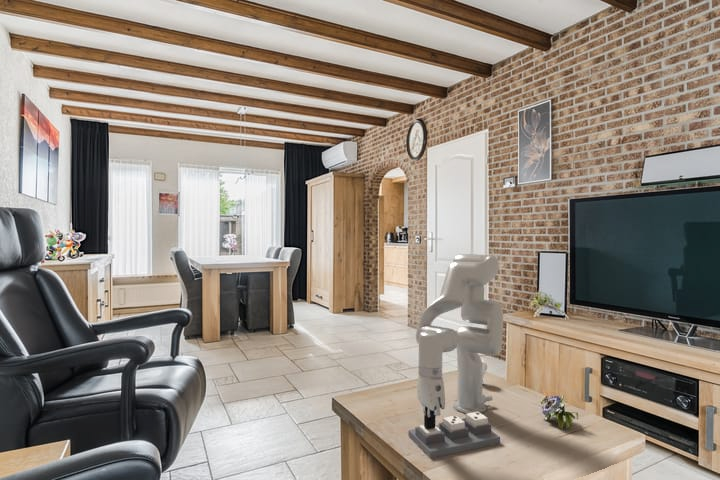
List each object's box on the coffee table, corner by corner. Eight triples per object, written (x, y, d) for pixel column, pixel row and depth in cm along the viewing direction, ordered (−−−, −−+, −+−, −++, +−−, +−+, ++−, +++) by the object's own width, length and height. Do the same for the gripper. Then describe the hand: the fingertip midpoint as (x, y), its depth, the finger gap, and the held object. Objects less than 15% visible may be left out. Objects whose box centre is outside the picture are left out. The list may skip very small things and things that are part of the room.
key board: (473, 423, 141) (473, 411, 141) (500, 443, 128) (500, 429, 128) (408, 436, 132) (408, 422, 132) (430, 458, 119) (430, 443, 119)
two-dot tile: (478, 420, 136) (478, 411, 136) (487, 426, 131) (487, 417, 131) (465, 422, 134) (465, 413, 134) (474, 429, 130) (475, 419, 130)
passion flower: (546, 434, 144) (535, 400, 151) (577, 431, 143) (564, 396, 150) (552, 429, 135) (540, 393, 142) (585, 425, 134) (571, 389, 141)
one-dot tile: (432, 432, 130) (432, 422, 130) (440, 439, 125) (440, 429, 125) (419, 434, 128) (419, 425, 128) (426, 442, 123) (427, 432, 123)
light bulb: (469, 380, 183) (470, 357, 183) (483, 380, 184) (483, 357, 184) (475, 386, 177) (475, 361, 177) (489, 386, 177) (489, 361, 177)
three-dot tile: (455, 424, 133) (455, 415, 133) (464, 431, 128) (464, 421, 128) (443, 426, 131) (443, 417, 131) (451, 433, 127) (451, 424, 127)
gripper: (453, 377, 121) (453, 436, 121) (428, 362, 135) (428, 416, 135) (432, 379, 118) (431, 440, 118) (409, 364, 132) (408, 419, 132)
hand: (429, 427), depth 127 cm, fingers closed
